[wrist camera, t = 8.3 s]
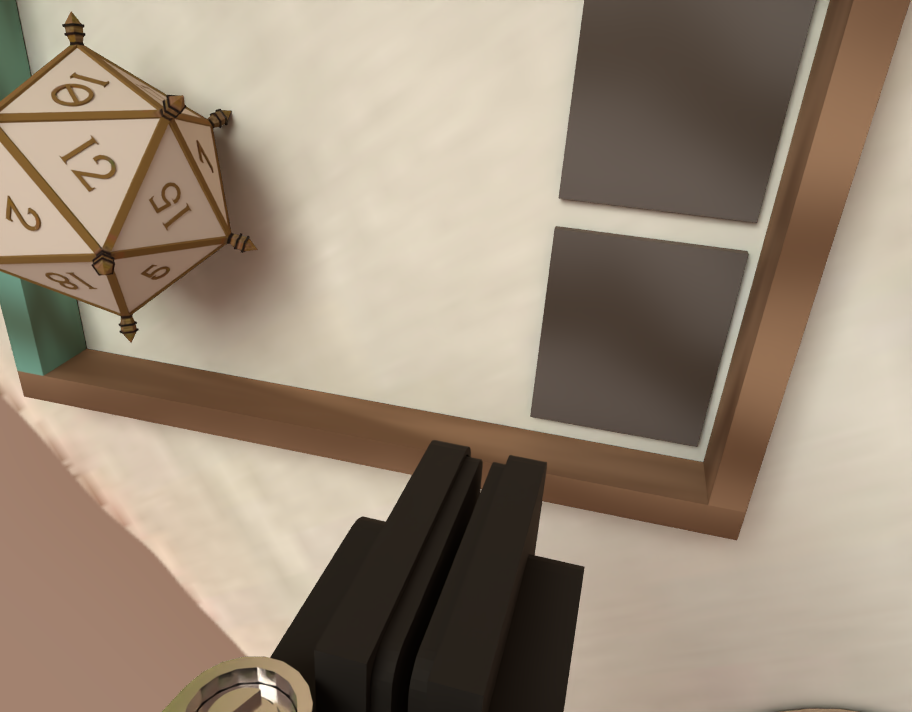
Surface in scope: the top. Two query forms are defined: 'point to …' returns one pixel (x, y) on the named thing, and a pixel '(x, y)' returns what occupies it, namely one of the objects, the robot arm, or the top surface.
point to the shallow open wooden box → (591, 269)
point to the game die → (107, 183)
